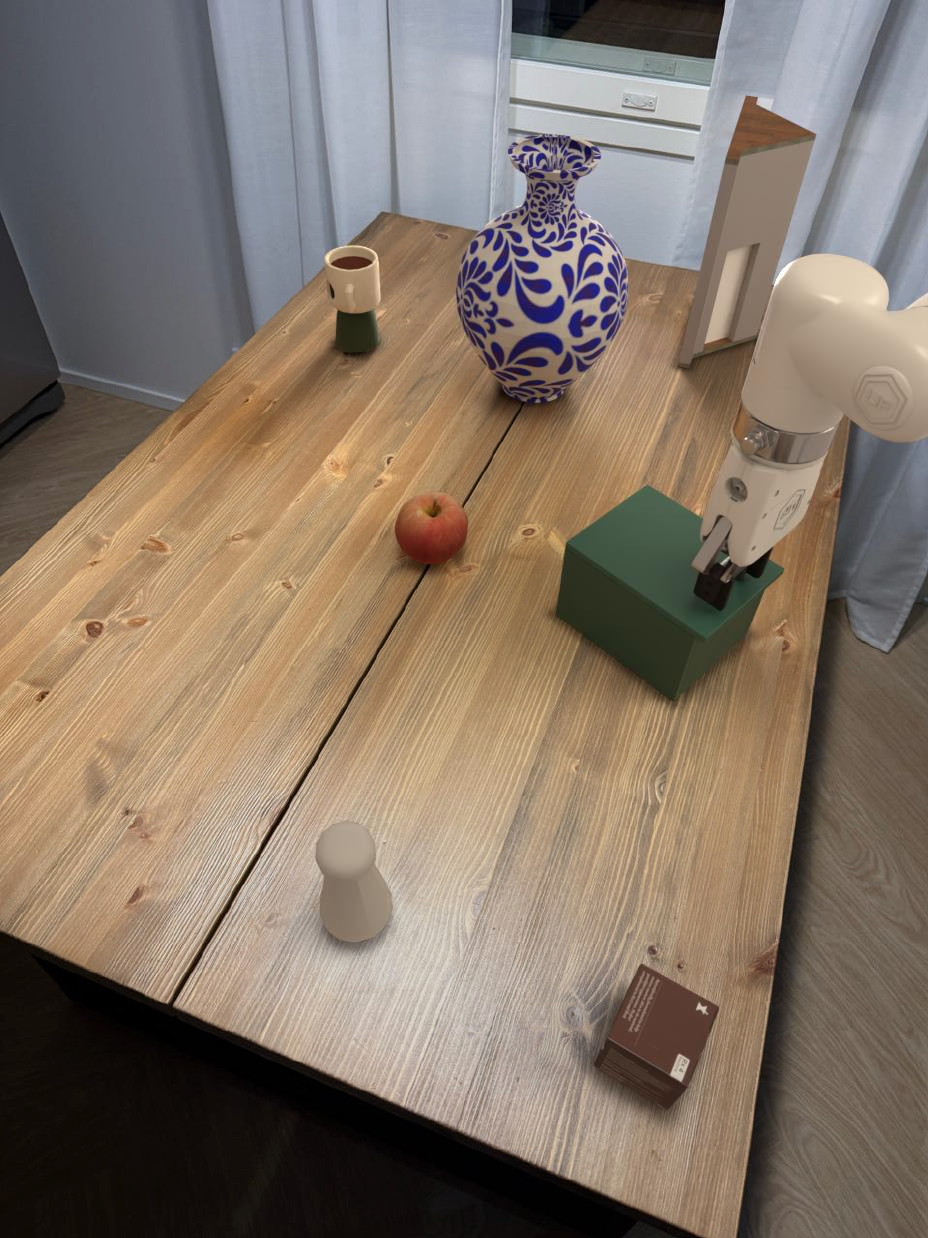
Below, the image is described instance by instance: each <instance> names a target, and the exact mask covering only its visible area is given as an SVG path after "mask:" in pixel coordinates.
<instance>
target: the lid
mask: <svg viewBox="0 0 928 1238" xmlns="http://www.w3.org/2000/svg"><path fill="white" fill-rule="evenodd" d="M703 518H704V517H702V516H700V515H698V514H697V513H696V512H693V511H692V510H690V509H688V508H687V507H685V506H683V505H682V504H680V503H678V502H677V501H676V500H674V499H672V498H671V497H669V496H667V495H665V494H664V493H662V492H661V491H660V490H657V489H656V488H654V487H653V486H651V485H649V484H648V483H646V484H645V485H644V486H643V487H641V488H639V489H638V490H636V491H635V492H634V493H632V494H631V495H630V496H629V497H627V498H626V499H624V500H622V501H621V502H620V503H619V504H617V505H616V506H615V507H613V508H612V509H610V510H609V511H608V512H606V513H605V514H603V515H601V516H600V517H599V518H598V519H596V520H595V521H593V522H592V523H590V524H589V525H588V526H586V527H585V528H584V529H582V530H580V531H579V532H578V533H576V534H575V535H574V536H572V537H571V538H570V539H568V540H567V541H566V542H565V545H564V546H565V548H566V549H568V550H569V551H571V552H572V553H574V554H575V555H577V556H578V557H579V558H581V559H582V560H584V561H585V562H587V563H588V564H590V565H591V566H592V567H594V568H595V569H597V570H598V571H600V572H601V573H603V574H604V575H605V576H607V577H608V578H610V579H611V580H613V581H614V582H616V583H617V584H618V585H620V586H621V587H623V588H624V589H626V590H627V591H629V592H630V593H631V594H633V595H634V596H636V597H637V598H639V599H640V600H642V601H643V602H644V603H646V604H647V605H649V606H650V607H652V608H653V609H655V610H656V611H657V612H659V613H660V614H662V615H663V616H665V617H666V618H668V619H669V620H670V621H672V622H673V623H675V624H676V625H678V626H679V627H681V628H682V629H683V630H685V631H686V632H688V633H689V634H691V635H692V636H694V637H695V638H696V639H698V640H699V641H701V642H702V643H706V642H707V641H708V640H709V639H710V638H711V637H712V636H714V635H715V634H716V633H717V632H718V631H719V630H720V629H721V628H723V627H724V626H725V625H726V624H727V623H728V622H729V621H730V620H731V619H733V618H734V617H735V616H736V615H737V614H738V613H739V612H740V611H742V610H743V609H744V608H745V607H746V606H747V605H748V604H749V603H751V602H752V601H753V600H754V599H755V598H756V597H757V596H758V595H760V594H761V593H762V592H763V591H764V590H765V591H766V590H767V588H769V587H770V586H771V585H772V584H773V583H775V581H776V580H778V579H779V578H780V577H781V576H782V575H783V574H784V571H785V568H784V567H783V566H781V565H780V564H778V563H776V562H775V561H773V560H772V559H770V558H769V560H768V562H767V565H766V568H765V570H764V573H763V575H762V576H761V577H760V578H754V577H752V576H750V575H749V574H747V573H746V571H747V568H748V566H749V565H748V566H744V567H739V566H737V568H736V570H735V572H734V574H733V577H734V578H735V579H736V580H735V583H734V585H733V588H732V591H731V594H730V597H729V599H728V602H727V605H726V607H725V608H724V609H723V610H722V611H719V610H717V609H715V608H714V607H712V606H711V605H709V604H708V603H706V602H705V601H703V600H702V599H700V598H699V597H697V596H696V595H695V594H694V592H693V590H694V587H695V584H696V581H697V578H698V574H699V571H697V570H696V569H694V568H693V567H691V564H692V562H693V560H694V559H695V557H696V555H697V554H698V552H699V551H700V549H701V548H702V546H703V545H704V543H702V542H701V540H700V531H701V526H702V522H703ZM565 548H564V549H565ZM729 559H730V557H729V556H727V555H726V554H724V553H723V552H720V554H719V555H718V557H717V559H716V561H717V562H718V563H720V564H721V565H723V566H724V567H726V565H727V563H728V561H729ZM765 591H764V592H765Z"/></svg>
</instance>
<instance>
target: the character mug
mask: <svg viewBox="0 0 928 1238" xmlns="http://www.w3.org/2000/svg"><path fill="white" fill-rule="evenodd" d="M323 257H324V258H323V259H324V261H323V262H324V271H325V280H326V282H325V283H326V291H327V300H328V302H329V304H330V305H331V306H332V307H333V308H334V309H335V310H337V311H336V319H335V320H336V321H335V345H336V347H337V348H338V349H339V350H340V351H343V352H344V353H363V352H364V353H365V352H368V351H372V350H374V349H376V348H377V347H378V346H379V345H380V343H381V336H380V330H379V329H380V328H379V325H378V319H377V315H376V310H375V308H377V307H378V306H379V304H380V303H381V280H380V267H379V266H380V265H379V256H378V254H377V253H376V252H375V251H374V250H373V249H371V248H368V247H366V246H362V245H343V246H340V247H336V248H333V249H331V250H329V251H328V252H327V253H326V254H325V255H324V256H323Z"/></svg>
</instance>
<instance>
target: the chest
mask: <svg viewBox="0 0 928 1238" xmlns="http://www.w3.org/2000/svg"><path fill="white" fill-rule="evenodd" d="M559 581H560V582H559V588H558V594H557V601H556V607H555V609H556V610H555V615H556V616H558V617H559V618H560V619H561V620H563V621H564V622H565V623H567V624H568V625H569V626H571V627H572V628H574V629H575V630H576V631H577V632H579V633H581V634H582V635H583V636H584V637H586V638H587V639H589V640H590V641H591V642H592V643H594V644H595V645H596V646H598V647H599V648H600V649H602V650H603V651H605V652H606V653H607V654H609V655H610V656H611V657H613V658H614V659H616V660H617V661H618V662H619V663H621V664H622V665H623V666H625V667H626V668H627V669H629V670H630V671H631V672H633V673H634V674H635V675H637V676H638V677H640V678H641V679H642V680H644V681H645V682H646V683H648V684H649V685H650V686H652V687H653V688H654V689H656V690H657V691H658V692H660V693H661V694H662V695H664V696H665V697H667V698H668V699H669V700H671V701H672V702H675V701H676V700H677V699H678V698H679V697H681V696H682V694H683V693H685V692H686V691H687V690H688V689H689V688H690V687H691V686H692V685H694V684H695V683H696V682H697V681H698V680H700V678H701V677H702V676H704V674H705V673H707V672H708V671H709V670H710V669H711V668H712V667H713V666H714V665H715V664H717V663H718V662H719V661H720V660H721V659H722V658H723V657H724V656H725V655H726V654H727V653H729V652H730V651H731V650H732V649H733V648H734V647H735V646H736V645H738V643H739V642H740V641H741V640H742V639H744V638H745V636H747V635H748V633H749V630H750V628H751V626H752V623H753V620H754V619H755V615H756V613H757V611H758V608H759V606H760V604H761V601H762V598H763V596H764V593H765V592H766V589H765V590H764V591H763V592H762V593H761V594H760V595H758V596H757V597H756V598H755V599H754V600H753V601H752V602H751V603H749V604H748V605H747V606H746V607H745V608H744V609H743V610H742V611H740V612H739V613H738V614H737V615H736V616H735V617H734V618H733V619H731V620H730V621H729V622H728V623H727V624H726V625H725V626H724V627H723V628H721V629H720V630H719V631H718V632H717V633H716V634H715V635H714V636H712V637H711V638H710V639H709V640H708V641H707V642H706V643H702V642H701V641H699V640H698V639H696V638H695V637H694V636H692V635H691V634H689V633H688V632H686V631H685V630H683V629H682V628H681V627H679V626H678V625H676V624H675V623H673V622H672V621H670V620H669V619H668V618H666V617H665V616H663V615H662V614H660V613H659V612H657V611H656V610H655V609H653V608H652V607H650V606H649V605H647V604H646V603H644V602H643V601H642V600H640V599H639V598H637V597H636V596H634V595H633V594H631V593H630V592H629V591H627V590H626V589H624V588H623V587H621V586H620V585H618V584H617V583H616V582H614V581H613V580H611V579H610V578H608V577H607V576H605V575H604V574H603V573H601V572H600V571H598V570H597V569H595V568H594V567H592V566H591V565H590V564H588V563H587V562H585V561H584V560H582V559H581V558H579V557H578V556H577V555H575V554H574V553H572V552H571V551H569V550H568V549H566V548H564V553H563V559H562V567H561V573H560V580H559Z"/></svg>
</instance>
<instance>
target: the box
mask: <svg viewBox="0 0 928 1238" xmlns="http://www.w3.org/2000/svg"><path fill="white" fill-rule="evenodd" d="M617 1009H618V1010H617V1012H616V1014H615V1016H614V1018H613V1020H612V1022H611V1024H610V1026H609V1029H608V1030H607V1033H606V1036H605V1037H604V1040H603V1042H602V1045H601V1047H600V1049H599V1051H598V1054H597V1055H596V1058H595V1060H594V1061H593V1065H594V1067H595V1068H596V1069H598V1070H599V1071H601V1072H603V1073H604V1074H606V1075H608V1076H609V1077H611V1078H613V1079H614V1080H617V1081H618V1082H620V1083H622V1084H623V1085H624V1086H626V1087H628V1088H630V1089H631V1090H633V1091H634V1092H637V1093H638V1094H640V1095H641V1096H642V1097H644V1098H645V1099H648V1100H649V1101H651V1102H653V1103H654V1104H655V1105H657V1106H659V1107H661V1108H662V1109H665V1110H666V1111H669V1110H670V1109H671V1108H672V1106H673V1105H674V1104H675V1103H676V1102H677V1101H678V1100H679V1099H680V1098H681V1096H682V1095H683V1094H684V1093H685V1092H686V1090H688V1089H689V1088H690V1087H691V1084H692V1081H693V1079H694V1076H695V1073H696V1071H697V1069H698V1066H699V1063H700V1060H701V1057H702V1055H703V1053H704V1051H705V1049H706V1046H707V1043H708V1039H709V1037H710V1034H711V1032H712V1029H713V1027H714V1024H715V1022H716V1020H717V1016H718V1013H719V1011H720V1007H719V1005H718V1004H716V1003H714V1002H712V1001H710V1000H709V999H707V998H705V997H703V996H701V995H700V994H697V993H696V992H694V991H692V990H690V989H688V988H687V987H685V986H683V985H681V984H680V983H678V982H676V981H675V980H673V979H672V978H670V977H667V976H665V975H664V974H662V973H660V972H659V971H656V970H654V969H653V968H651V967H650V966H648V965H646V964H644V963H640V965H639V966H638V967H637V970H636V972H635V974H634V976H633V978H632V980H631V982H630V984H629V986H628V989H627V990H626V992H625V995H624V997H623V1000H622V1001H621V1003H620V1005H619V1008H617Z"/></svg>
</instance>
